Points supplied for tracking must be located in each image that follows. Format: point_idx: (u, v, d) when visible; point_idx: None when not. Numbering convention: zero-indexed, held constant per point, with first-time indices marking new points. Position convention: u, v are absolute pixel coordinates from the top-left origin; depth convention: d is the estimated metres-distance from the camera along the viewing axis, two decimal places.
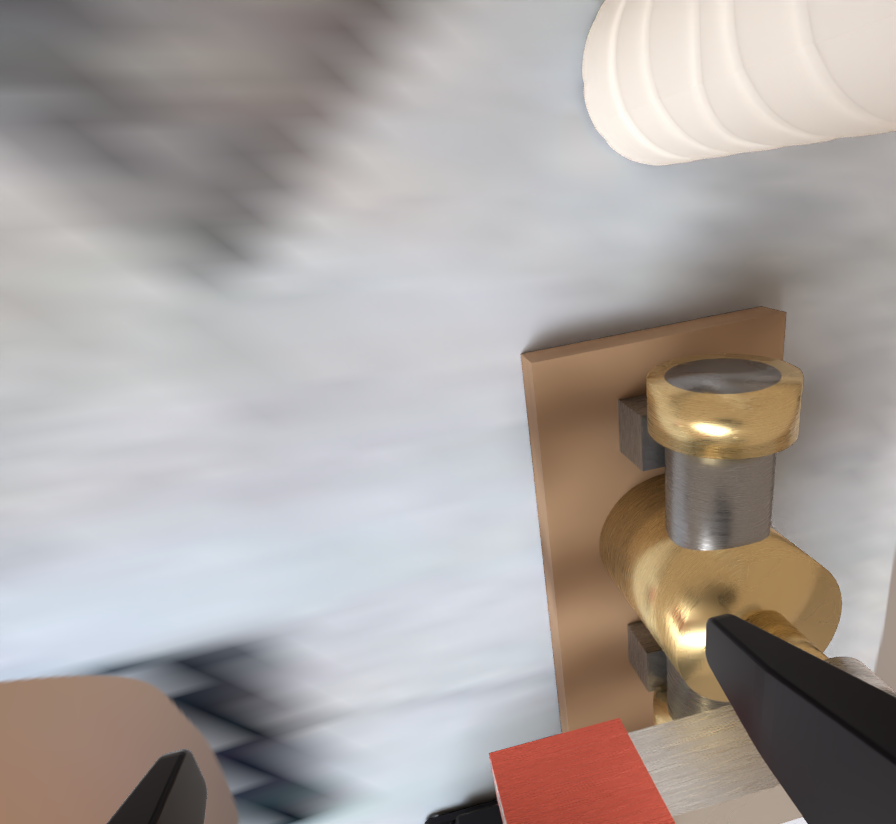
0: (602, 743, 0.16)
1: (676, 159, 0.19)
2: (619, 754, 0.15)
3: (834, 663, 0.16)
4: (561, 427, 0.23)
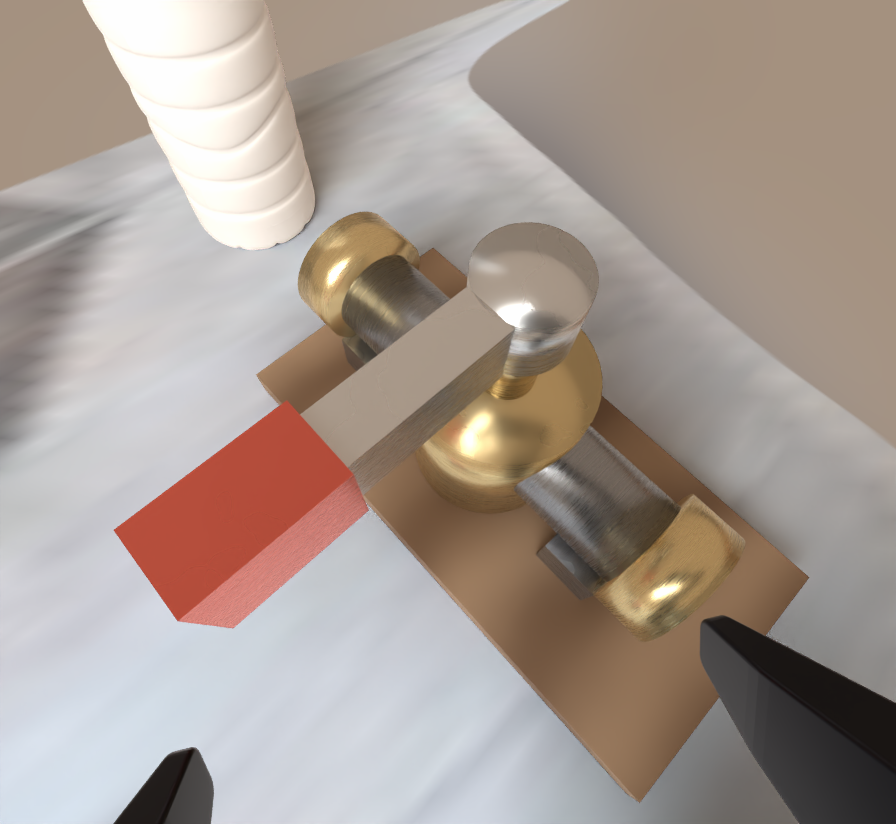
0: None
1: (267, 216, 0.28)
2: None
3: None
4: None
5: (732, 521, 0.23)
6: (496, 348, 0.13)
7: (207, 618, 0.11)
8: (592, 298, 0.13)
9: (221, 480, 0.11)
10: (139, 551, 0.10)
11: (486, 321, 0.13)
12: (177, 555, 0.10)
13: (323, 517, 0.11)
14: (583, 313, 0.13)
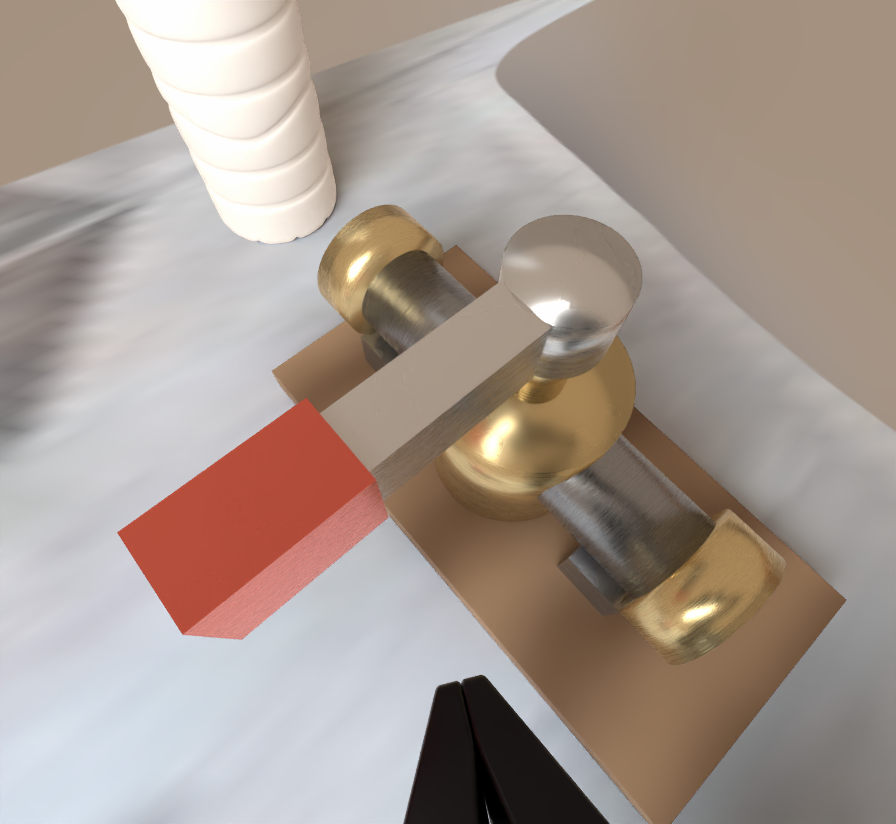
0: None
1: (288, 209, 0.27)
2: None
3: None
4: (330, 404, 0.24)
5: (765, 538, 0.22)
6: (530, 348, 0.12)
7: (214, 630, 0.10)
8: (635, 297, 0.12)
9: (234, 482, 0.10)
10: (144, 556, 0.09)
11: (520, 318, 0.12)
12: (184, 563, 0.09)
13: (341, 525, 0.11)
14: (624, 312, 0.12)
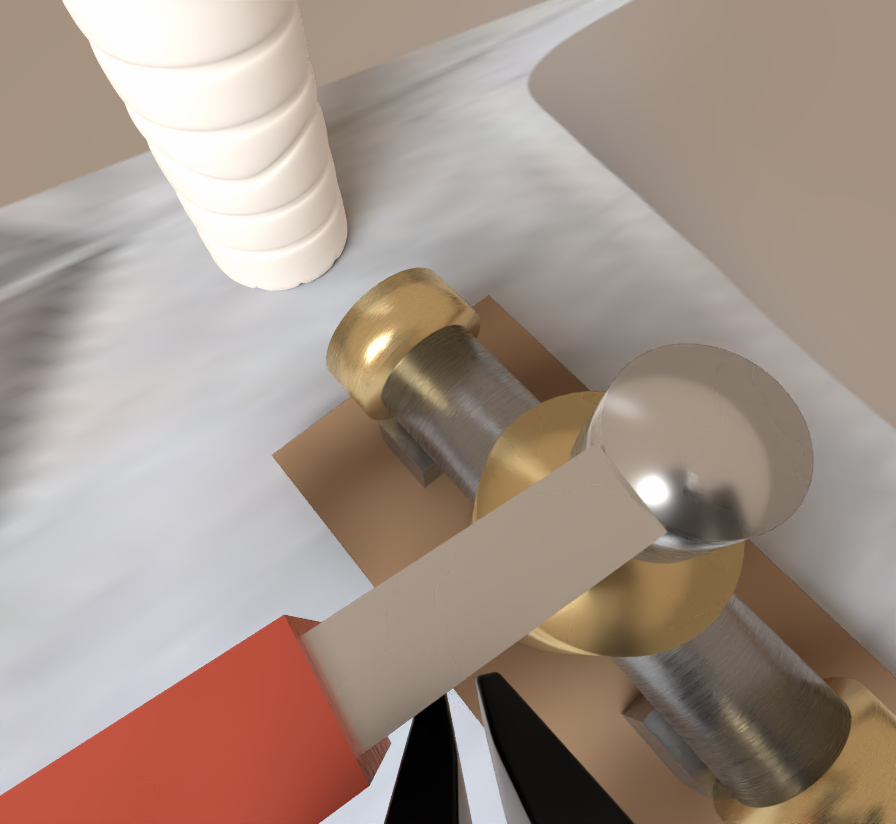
0: None
1: (291, 254, 0.23)
2: None
3: None
4: (341, 497, 0.20)
5: (876, 675, 0.18)
6: None
7: None
8: (801, 495, 0.08)
9: (150, 755, 0.06)
10: None
11: (622, 510, 0.08)
12: None
13: None
14: (784, 520, 0.08)
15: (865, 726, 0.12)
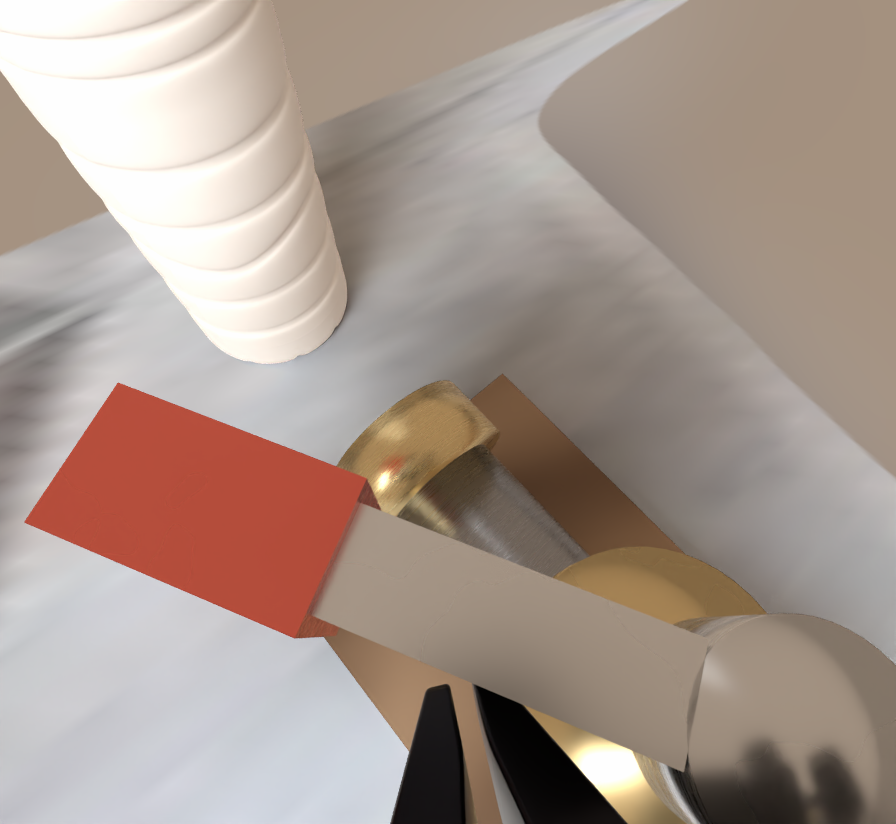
0: None
1: (287, 331, 0.21)
2: None
3: None
4: None
5: None
6: None
7: None
8: None
9: (220, 463, 0.08)
10: (101, 425, 0.08)
11: (666, 709, 0.07)
12: (105, 472, 0.08)
13: None
14: None
15: None
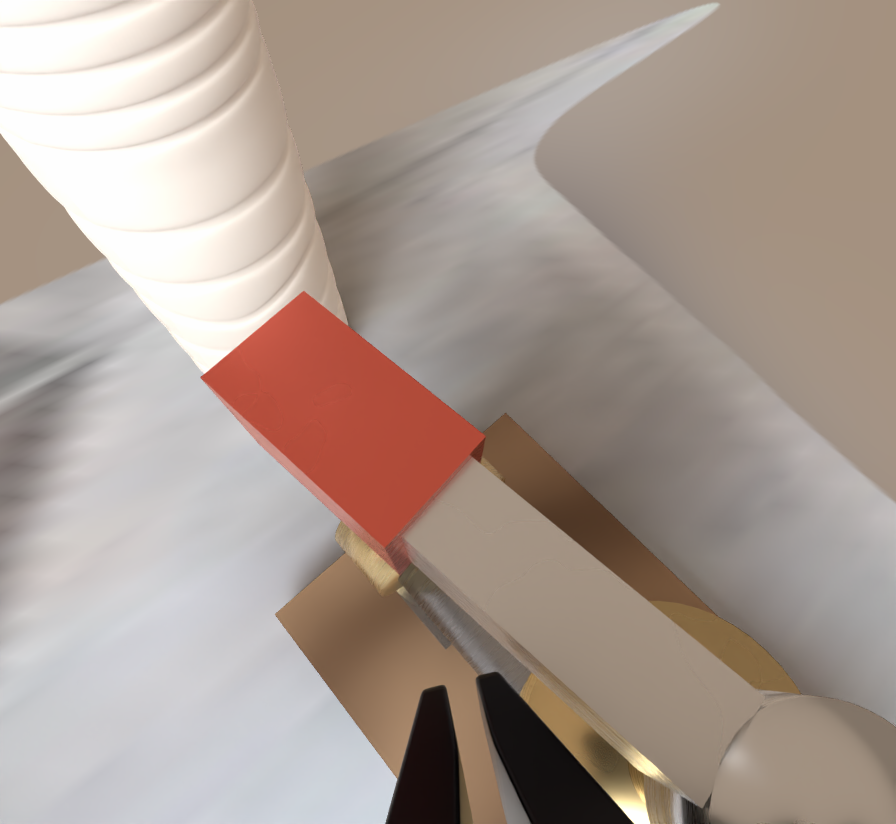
0: None
1: None
2: None
3: None
4: (353, 664, 0.18)
5: None
6: (655, 769, 0.07)
7: (230, 410, 0.10)
8: None
9: (366, 382, 0.09)
10: (280, 321, 0.09)
11: (702, 745, 0.07)
12: (273, 359, 0.09)
13: (346, 517, 0.09)
14: None
15: None
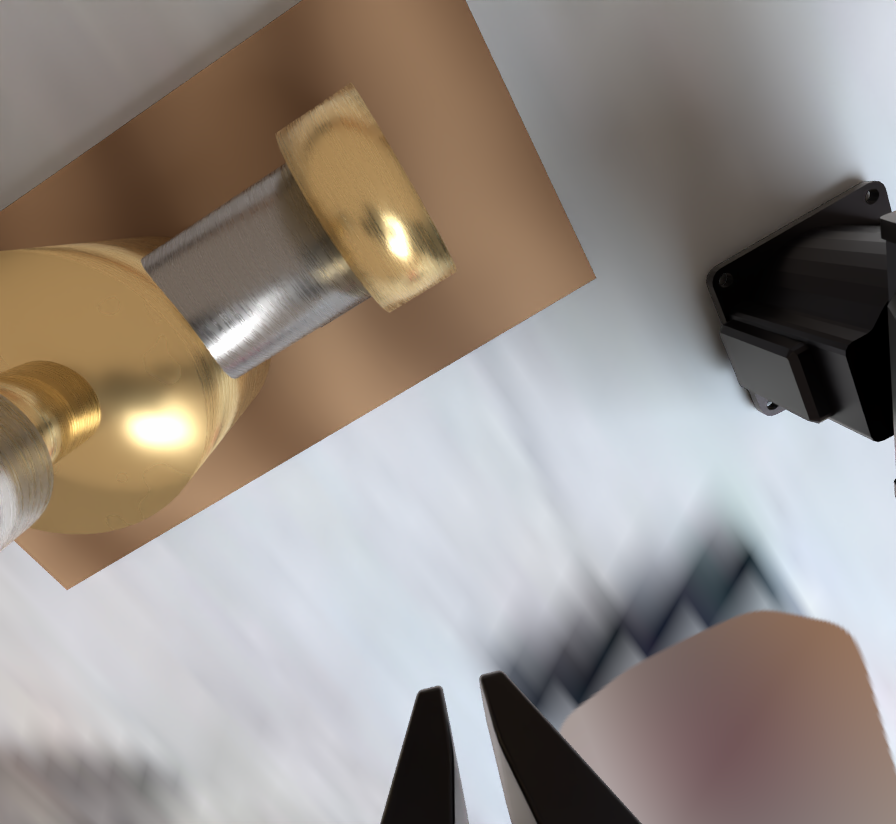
0: None
1: None
2: None
3: None
4: (111, 533, 0.20)
5: (324, 6, 0.15)
6: None
7: None
8: None
9: None
10: None
11: None
12: None
13: None
14: None
15: None
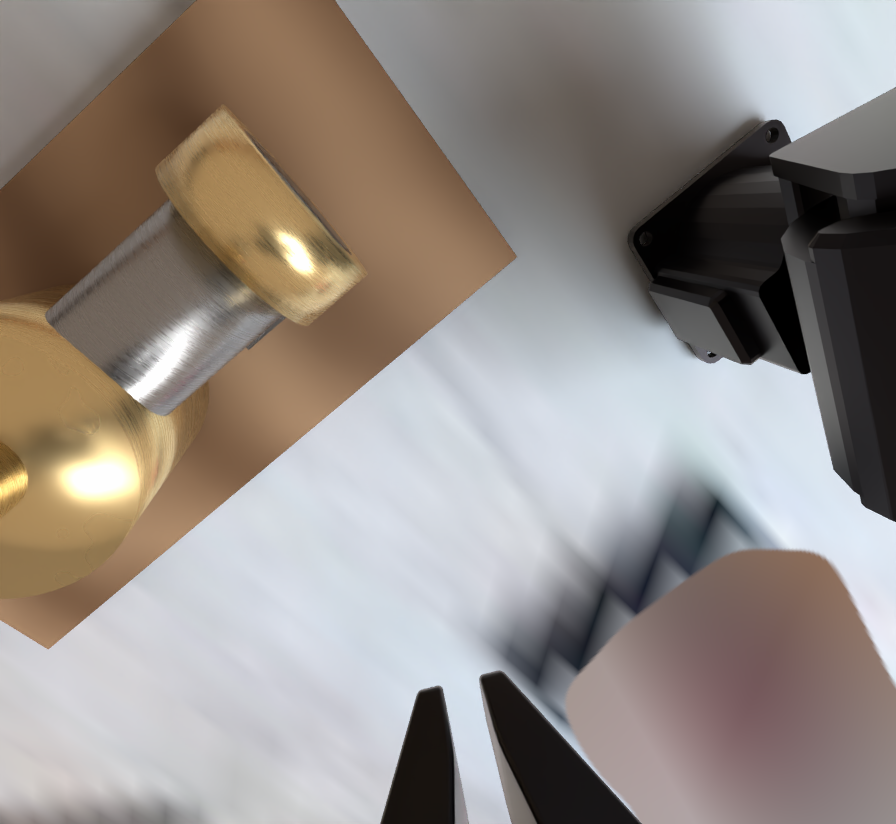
0: None
1: None
2: None
3: None
4: (82, 586, 0.20)
5: (194, 28, 0.15)
6: None
7: None
8: None
9: None
10: None
11: None
12: None
13: None
14: None
15: None
